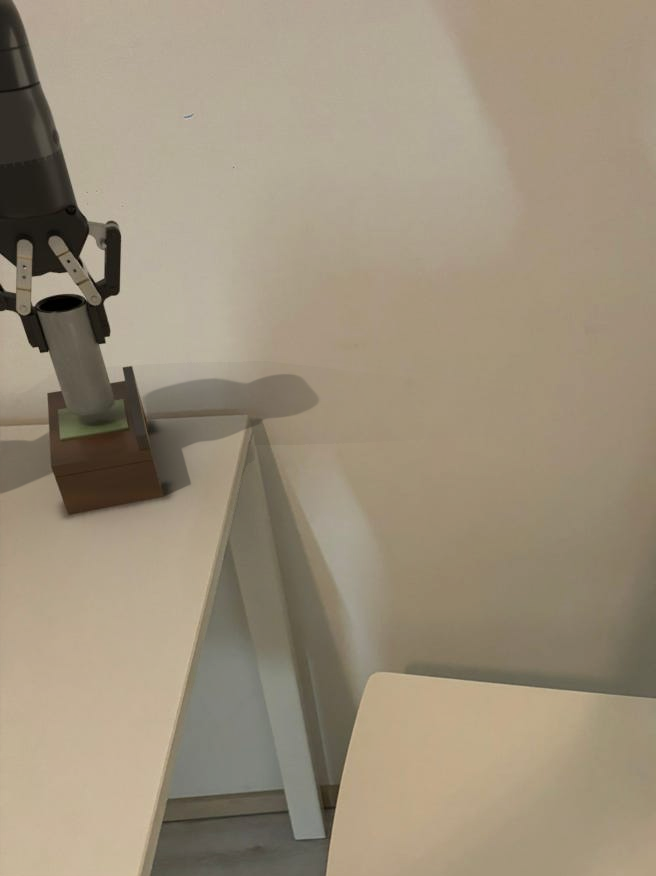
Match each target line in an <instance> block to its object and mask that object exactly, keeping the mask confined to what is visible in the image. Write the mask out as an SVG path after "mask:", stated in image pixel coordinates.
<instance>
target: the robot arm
mask: <svg viewBox="0 0 656 876" xmlns="http://www.w3.org/2000/svg"><path fill="white" fill-rule="evenodd" d="M29 41H30V40H29V37H28V34H27V31H26V28H25V25H24V21H23V20H22V16H21V14H20V12H19V10H18V8H17V6H16V4H15V2H14V0H0V255H1V256H2V257H3V258H5V259H6V260H7V261H8V262H9V263H10V264H11V265H13V266H14V268H16V273H15V274H16V275H15V277H16V278H15V279H16V280H15V292H11V291H8V290H5V288H4V287H3V285H2V283H0V312H5V311H9V312H13V313H15V314H17V315H18V317H19V318H20V321H21V324H22V328H23V330H24V333H25V336H26V339H27V342H28V344H29V345H30V347H32V349H35V348H38V351H39V353H40V354H45V353H49V351H48V348H47V345H46V341H45V338H44V335H43V332H42V329H41V326H40V323H39V320H38V317H37V314H36V310H35V305H33V302H32V284H33V283H32V281H33V279H32V278H35V277H41V276H44V275H46V274H49V273H54V274H65V273H66V274H67V273H68V275H69V276H70V278H71V280H72V281H73V282H74V284H75V285H76V286H77V287H78V288H79V290H80V291H81V293H82V294H83V297H84V298H85V299H86V301H87V306H88V310H89V314H90V317H91V321H92V324H93V328H94V331H95V335H96V338H97V342H98V344H99V345H104V344H105V345H106V344H107V340H106V338H109V337H110V338H111V325H110V322H109V318H108V315H107V311H106V306H105V301H106V300H107V299H109V298H111V297H116V296H118V295H119V294H120V292H121V264H122V233H121V230H120V226H119V224H118V223H117V222H116V221H115V220H107V222H105V223H104V222H97V221H91V220H90V221H89V220H88V218H87V217H86V216H85V214H84V213H83V212H82V211H81V209H80V208H79V206H78V203H77V199H76V196H75V192H74V189H73V184H72V181H71V177H70V174H69V170H68V167H67V162H66V159H65V155H64V152H63V149H62V144H61V139H60V135H59V132H58V130H57V126H56V121H55V119H54V116H53V112H52V109H51V107H50V105H49V101H48V99H47V97H46V95H45V92H44V90H43V86H42V84H41V81H40V77H39V74H38V70H37V67H36V63H35V59H34V56H33V52H32V49H31V44H30V42H29ZM89 236H91V237H92V238H94V239H95V243H96V244H95V245H96V246H97V248H98V249H100V250H102V251H104V258H103V259H104V263H103V265H104V266H103V267H104V270H103V278H102V279H100V280H98V281H96V280H95V279H94V276H92V274H91V273H90V271H89V269H88V267H87V265H86V264H85V262H84V260H83V259H82V258H81V254H82V252H83V249H84V247H85V244H86V241H87V240H88V237H89Z"/></svg>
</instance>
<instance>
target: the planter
mask: <svg viewBox="0 0 656 876" xmlns="http://www.w3.org/2000/svg"><path fill="white" fill-rule="evenodd" d="M34 306H35V310H36V314H37V317H38V320H39V323H40V326H41V329H42V332H43V335H44V338H45V341H46V345H47V348H48V353H49V357H50V360H51V363H52V367H53V369H54V372H55V375H56V378H57V381H58V385H59V388H60V391H62V394H63V397H64V400H65V403H66V406H67V409H68V411H69V412H71V413H72V414H75V415H81V416H87V415H95V414H99V413H102V412H105V411H107V410H108V409H110V408H111V407H112V406H113V405H114V403H115V400H114V395H113V391H112V388H111V384H110V383H111V381H110V378H109V374H108V370H107V368H106V367H107V366H106V364H105V360H104V357H103V354H102V350H101V346H100V344H98V342H97V338H96V335H95V331H94V328H93V324H92V321H91V317H90V314H89V310H88V306H87V299H86V297H85V296H84V295H80V294H75V293H61V294H55V295H54V294H53V295H50V296H47V297H44V298H42V299H40V300H39V301H37V302H36V303H35V305H34Z"/></svg>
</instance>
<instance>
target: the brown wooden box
mask: <svg viewBox="0 0 656 876" xmlns="http://www.w3.org/2000/svg"><path fill="white" fill-rule="evenodd" d="M122 372H123V378H124V380H122V381H115V382H110V384H111V388H112V391H113V395H114V400H115V403H114V405H113V406H112V407H111V408H110V409H108V410H107V411H105V412H102V413H99V414H95V415H87V416H81V415H75V414H72V413H71V412H69V411H68V409H67V406H66V403H65V400H64V397H63V394H62V391H61V390H57V391H51V392H47V394H46V395H47V397H46V398H47V415H48V431H49V432H48V433H49V451H50V467H51V470H52V474H53V476H54V479H55V482H56V485H57V487H58V490H59V493H60V496H61V499H62V501H63V503H64V504H63V505H64V508H65V510H66V513H67V515H68V516H70V515H77V514H81V513H82V514H83V513H85V512H91V511H97V510H102V509H107V508H113V507H118V506H123V505H128V504H133V503H138V502H144V501H149V500H154V499H160V498H164V493H163V488H162V484H161V479H160V477H159V473H158V469H157V466H156V462H155V459H154V454H153V451H152V446H151V442H150V436H149V433H150V430H149V429H150V428H149V424H148V421H147V417H146V413H145V409H144V405H143V402H142V397H141V394H140V390H139V386H138V382H137V378H136V375H135V372H134V367H133V366H132V365H130V366H123V367H122Z"/></svg>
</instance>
